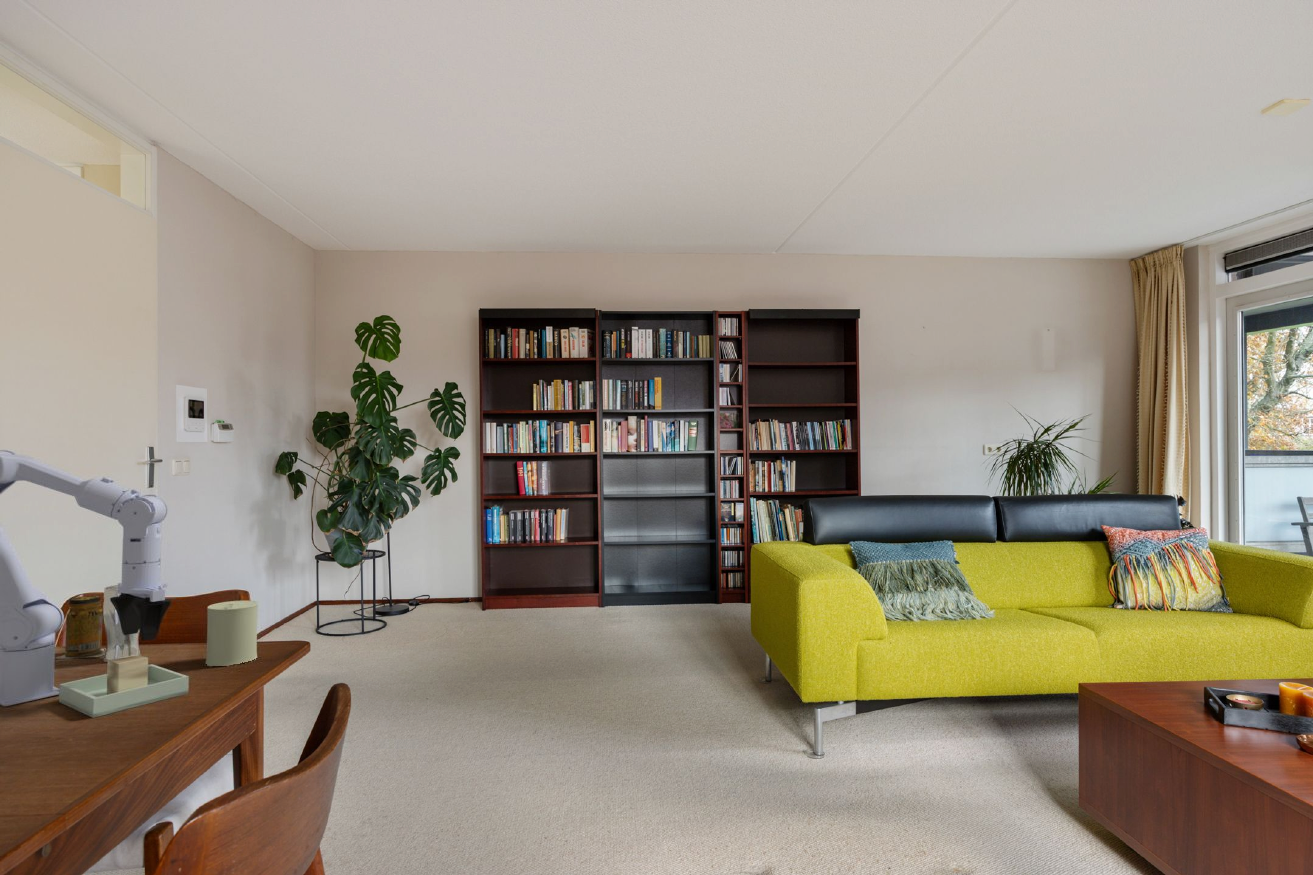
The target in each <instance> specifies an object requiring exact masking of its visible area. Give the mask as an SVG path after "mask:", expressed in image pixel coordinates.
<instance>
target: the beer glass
mask: <svg viewBox="0 0 1313 875" xmlns="http://www.w3.org/2000/svg"><path fill="white" fill-rule="evenodd" d="M120 595H121V594H119V593H118V584H117V585H110V586H106V587H104V593H103V599H102V611H103V613H102V614H103V615H102V616H103V617H102V623H103V626H104V627H103V628H104V632H105V637H106V648H105V649H106V652H105V655H103V662H105V663H108V660H111V659H116V658H121V657H126V656H131V655H136V654H137V655H140V656H141V652H140V646H139V636H140V631H138V633H135V634H129V635H123V632H122V628H121V624H120V620H119V616H118V614H117V611H116V609H115V607H114V605H113V604H112V602H111V601H110V598H112V597H118V596H120Z"/></svg>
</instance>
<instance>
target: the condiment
mask: <svg viewBox="0 0 1313 875" xmlns="http://www.w3.org/2000/svg"><path fill="white" fill-rule="evenodd" d="M101 600H102V598H101V597H100V596H97V595H89V596H88V595H87V596H80V597H73V598H71V599H69V606H68V611H67V613H66V618H65V647H64V649H65V650H64V652H65V654H63V655H59V656H57V657H55V659H63V660H65V659H78V658H79V659H80V658H81V659H84V658H85V659H86V658H98V657H102V656H105V652H106V651H104V649H105V650H106V648H102V647H103V646H102V644H103V640H102V638H103V608H102V603H101ZM101 650H102V651H103V652H102V651H101Z"/></svg>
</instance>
